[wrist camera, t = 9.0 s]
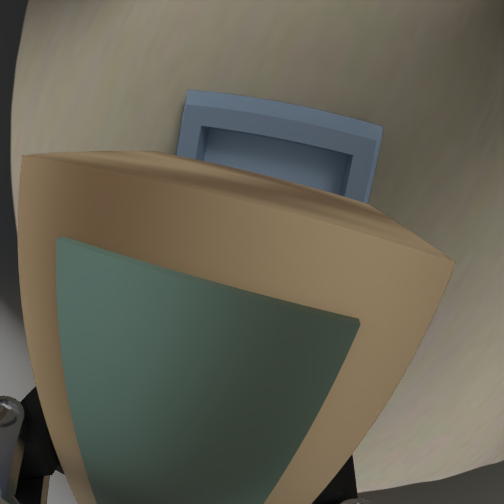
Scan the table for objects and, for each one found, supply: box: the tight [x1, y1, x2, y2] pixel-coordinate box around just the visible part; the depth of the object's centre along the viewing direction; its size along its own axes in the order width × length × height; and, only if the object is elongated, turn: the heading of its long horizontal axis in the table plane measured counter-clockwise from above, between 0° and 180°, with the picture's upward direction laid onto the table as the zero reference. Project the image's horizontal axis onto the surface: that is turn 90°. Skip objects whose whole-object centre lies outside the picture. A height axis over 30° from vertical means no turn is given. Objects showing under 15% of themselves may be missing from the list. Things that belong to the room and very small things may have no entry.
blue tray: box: [176, 90, 384, 204], centre depth 22 cm, size 13×22×3 cm, turn 169°
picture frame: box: [18, 151, 456, 504], centre depth 8 cm, size 6×14×5 cm, turn 166°
